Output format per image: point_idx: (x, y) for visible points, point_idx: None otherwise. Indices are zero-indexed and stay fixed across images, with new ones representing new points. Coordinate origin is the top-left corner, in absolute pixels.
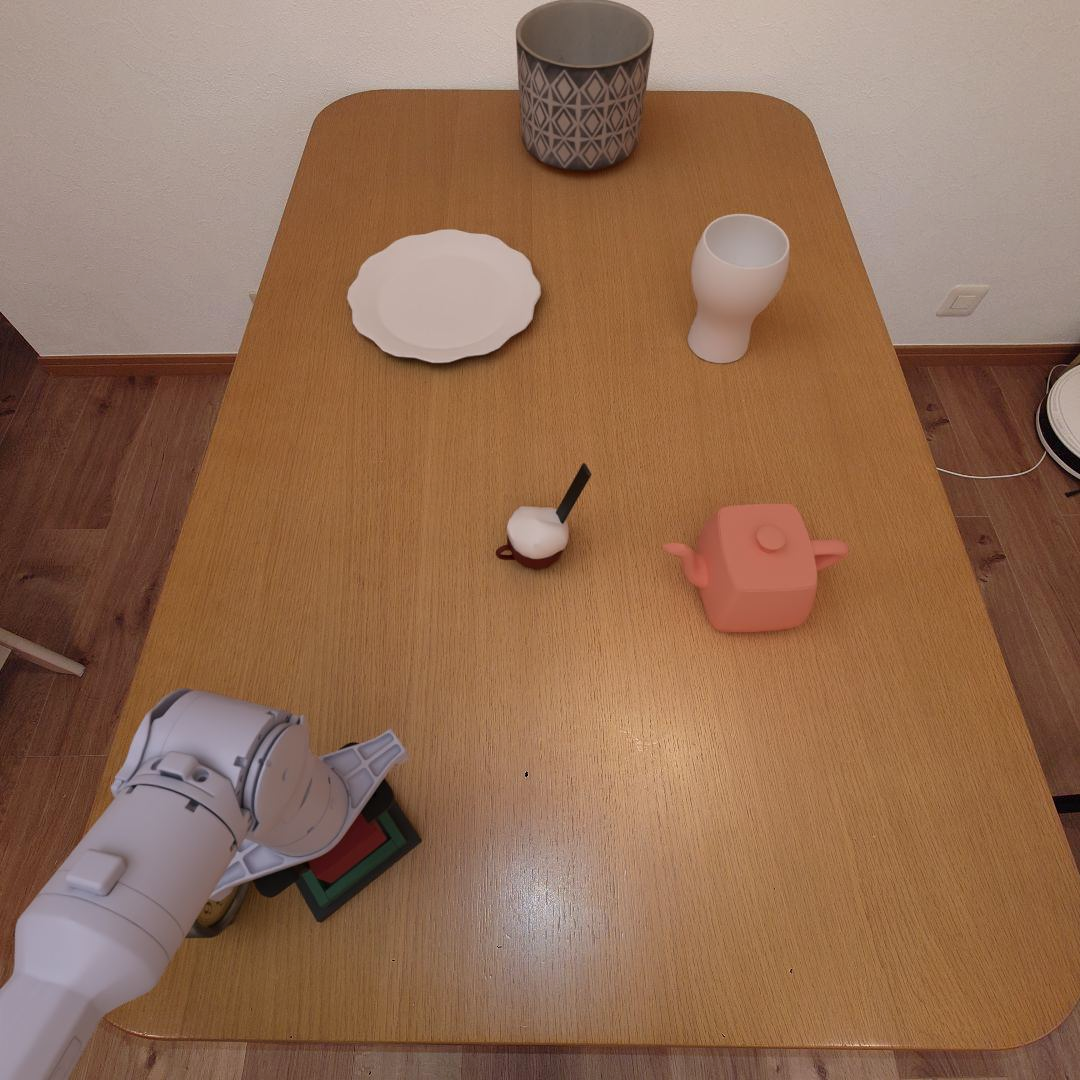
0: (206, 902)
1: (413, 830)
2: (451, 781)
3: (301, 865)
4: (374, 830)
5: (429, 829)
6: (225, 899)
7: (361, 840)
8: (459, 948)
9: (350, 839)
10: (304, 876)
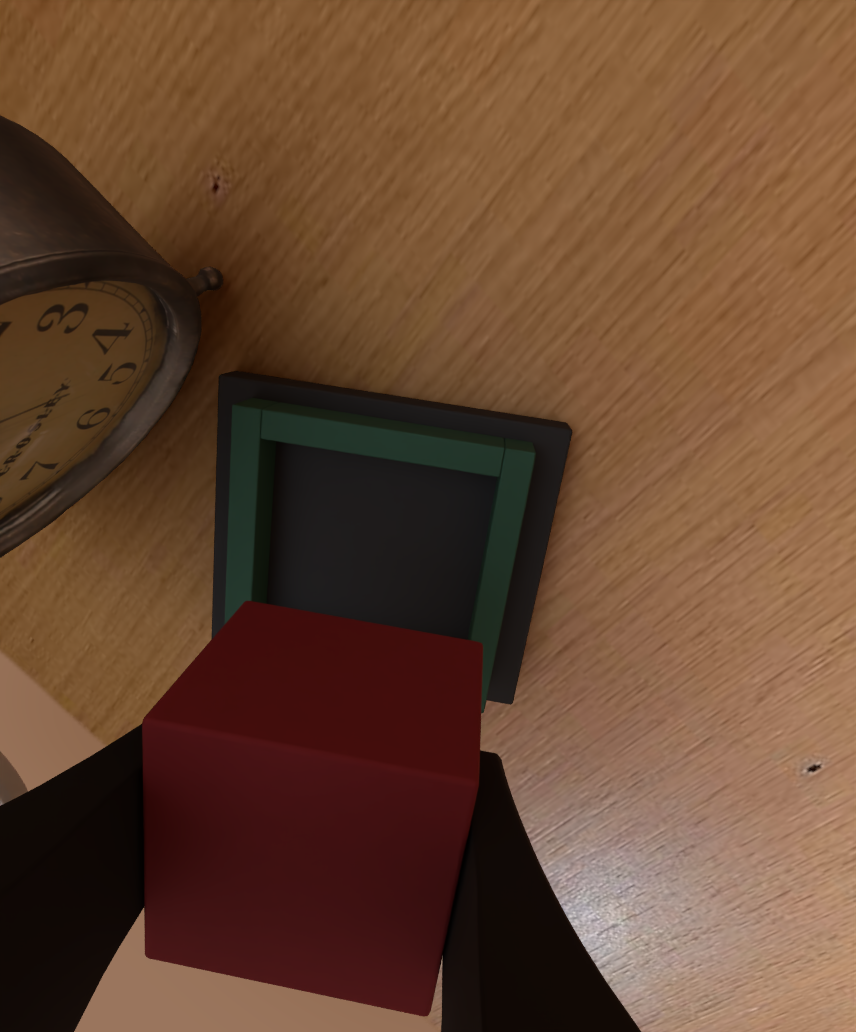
0: None
1: (515, 680)
2: (674, 643)
3: (74, 1016)
4: (423, 1008)
5: (543, 678)
6: (11, 499)
7: (359, 999)
8: None
9: (328, 964)
10: (229, 584)
